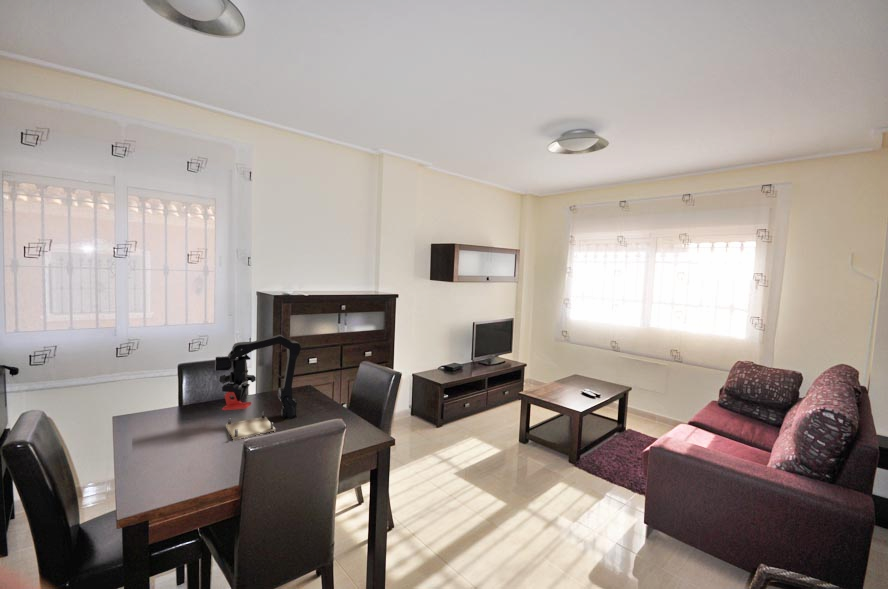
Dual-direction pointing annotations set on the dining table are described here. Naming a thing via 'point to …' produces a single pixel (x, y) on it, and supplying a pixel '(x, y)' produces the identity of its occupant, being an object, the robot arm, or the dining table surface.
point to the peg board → (249, 427)
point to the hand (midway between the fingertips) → (239, 400)
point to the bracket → (234, 402)
